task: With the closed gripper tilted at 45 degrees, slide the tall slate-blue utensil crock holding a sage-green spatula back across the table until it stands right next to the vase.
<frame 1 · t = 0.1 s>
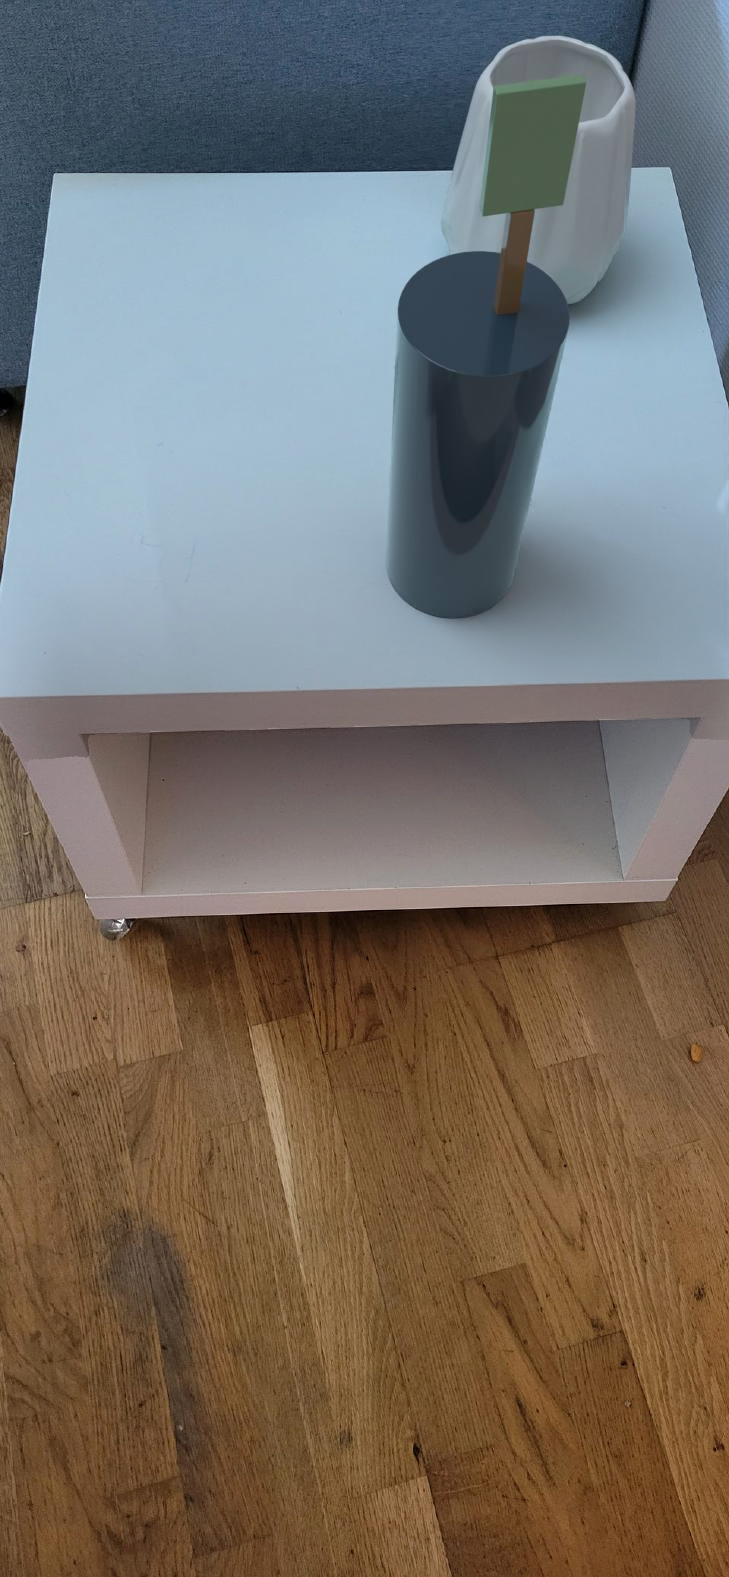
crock: (450, 563, 80), on the table
vase: (526, 267, 92), on the table
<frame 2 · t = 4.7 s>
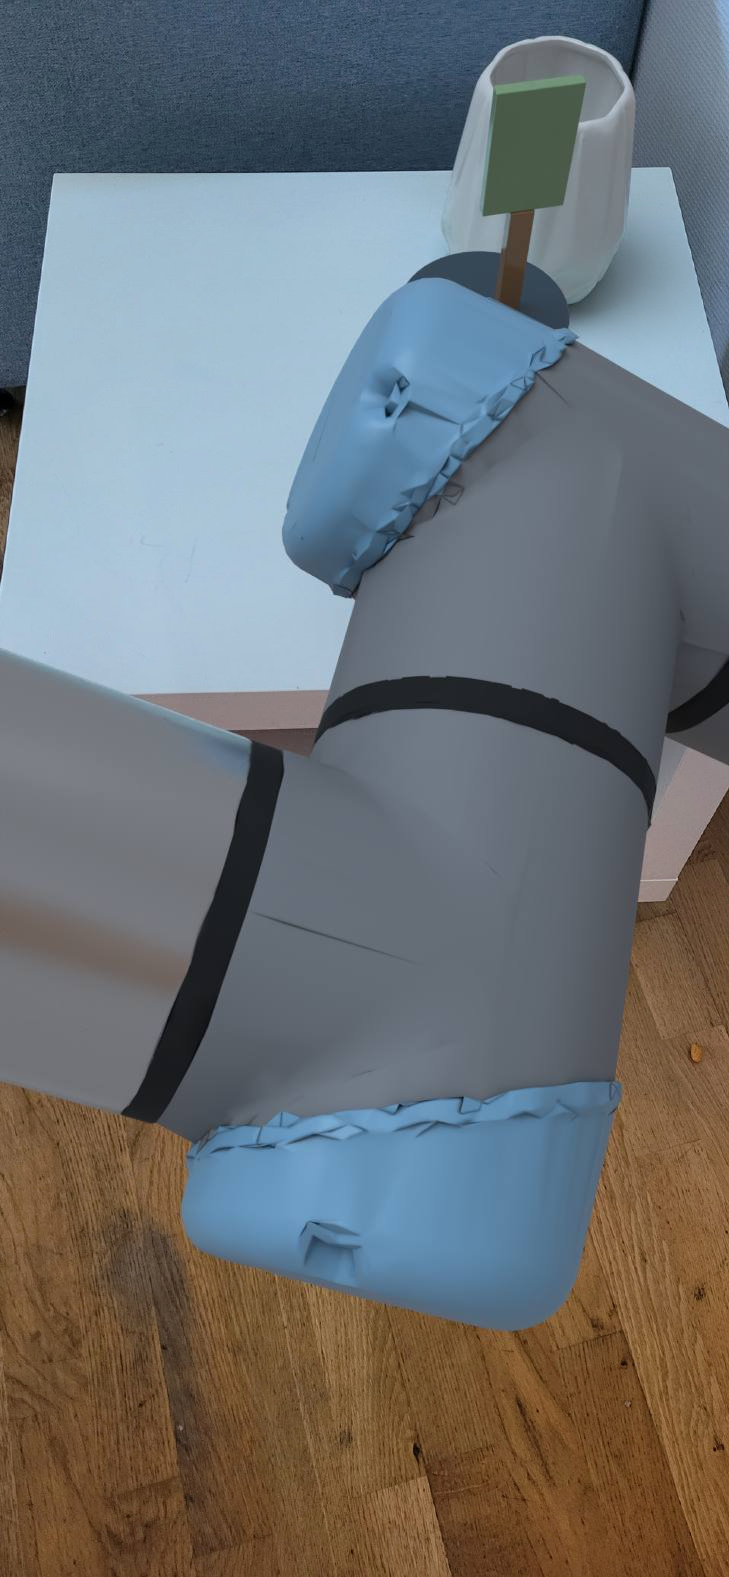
hand: (514, 526, 62), 15 cm above the table, tool tilted 45°, fingers closed
nothing on the table moved.
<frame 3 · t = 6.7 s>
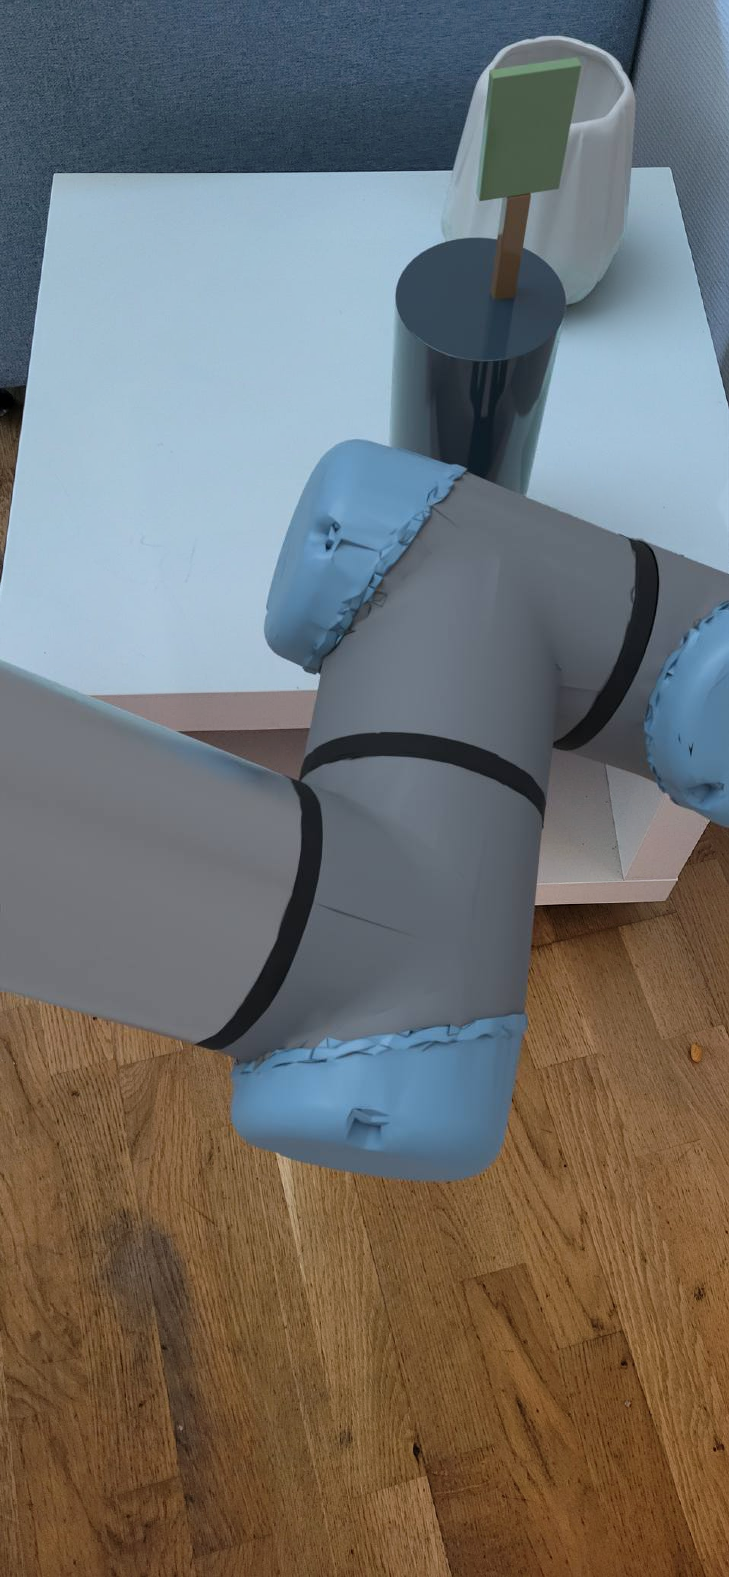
hand: (482, 555, 71), 7 cm above the table, tool tilted 45°, fingers closed
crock: (448, 552, 80), on the table, touching gripper
everything else where it was.
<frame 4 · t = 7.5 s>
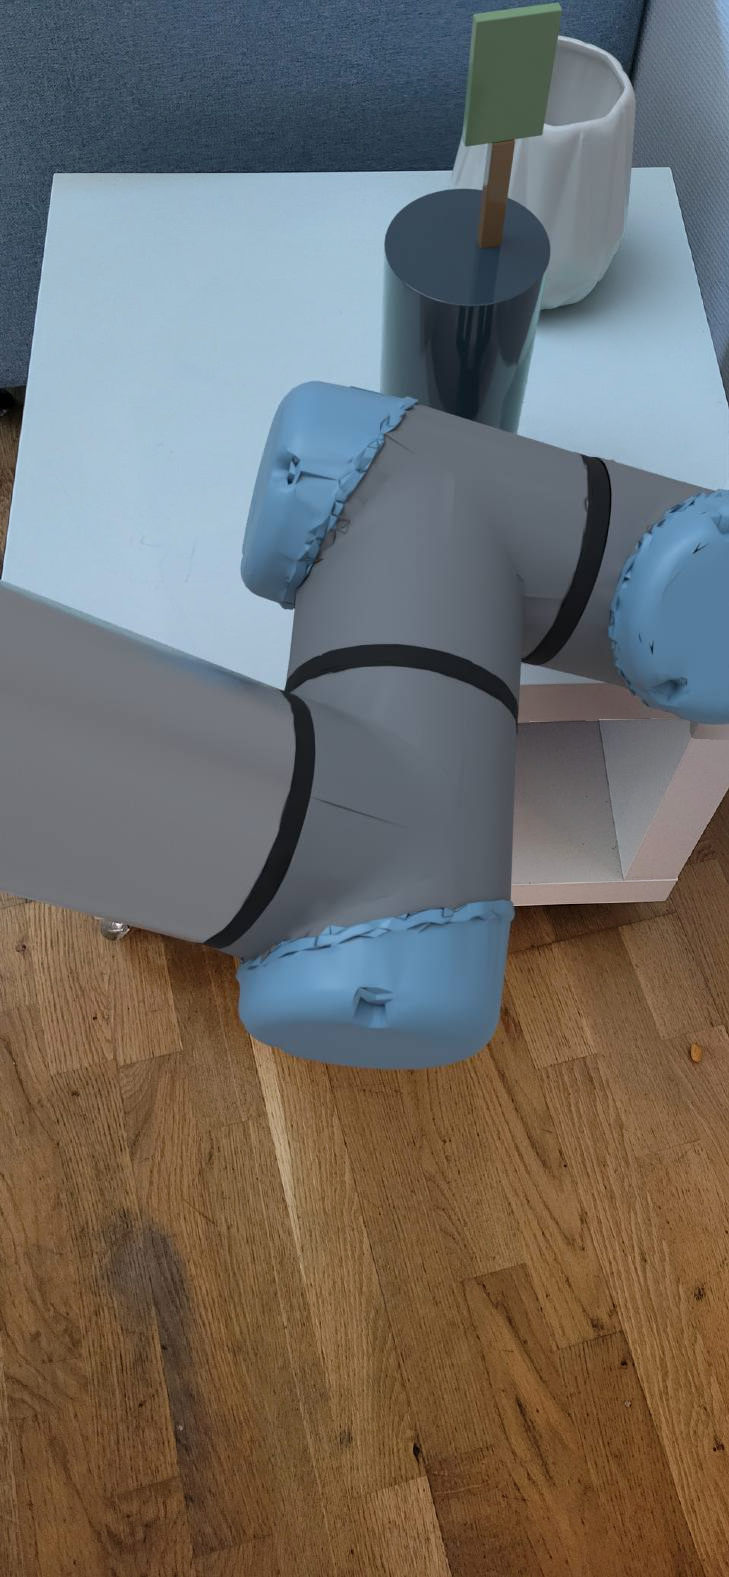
hand: (469, 504, 73), 7 cm above the table, tool tilted 45°, fingers closed
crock: (439, 507, 82), on the table, touching gripper
everything else where it was.
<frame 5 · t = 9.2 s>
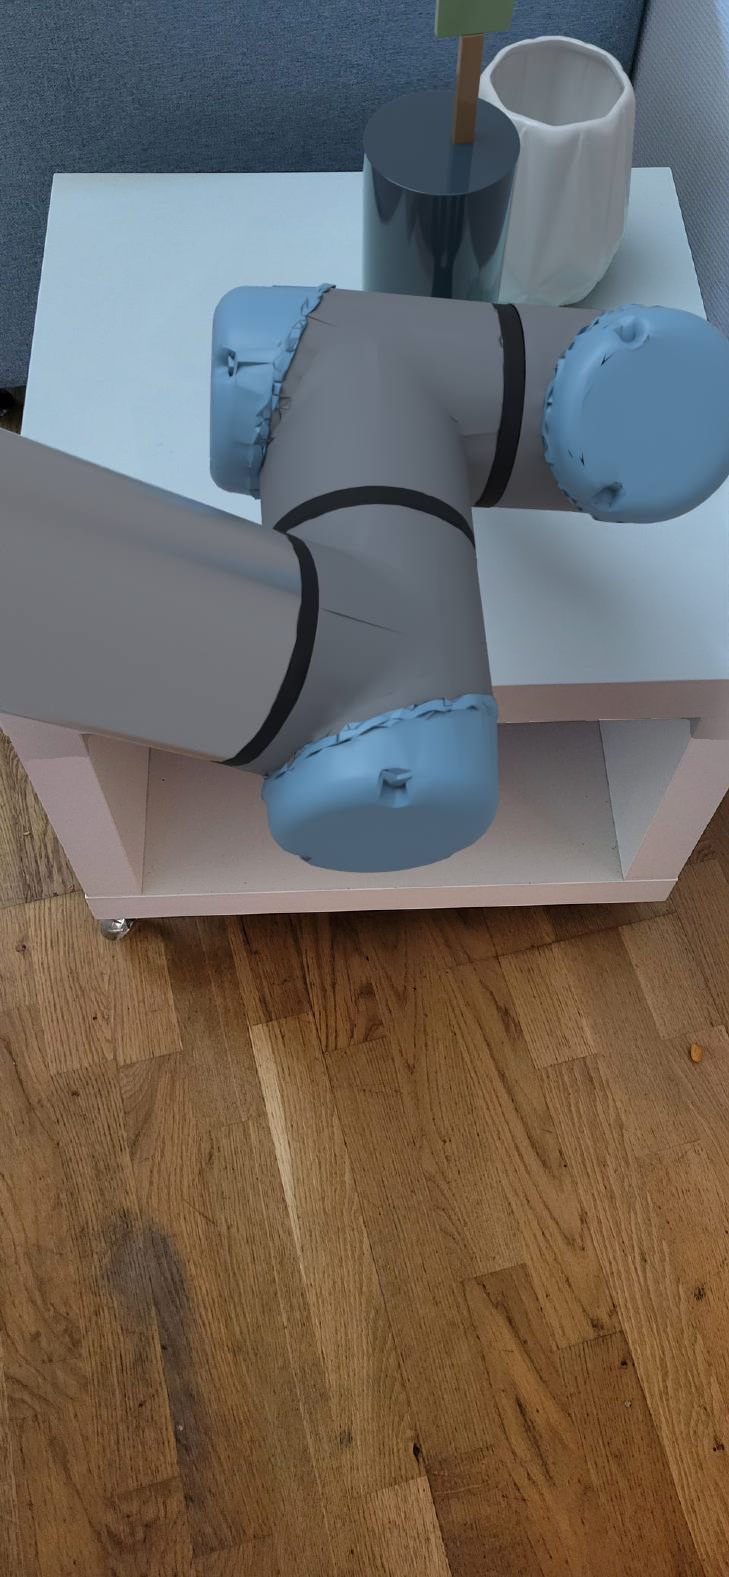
hand: (441, 402, 76), 8 cm above the table, tool tilted 45°, fingers closed
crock: (420, 417, 85), on the table, touching gripper
everything else where it was.
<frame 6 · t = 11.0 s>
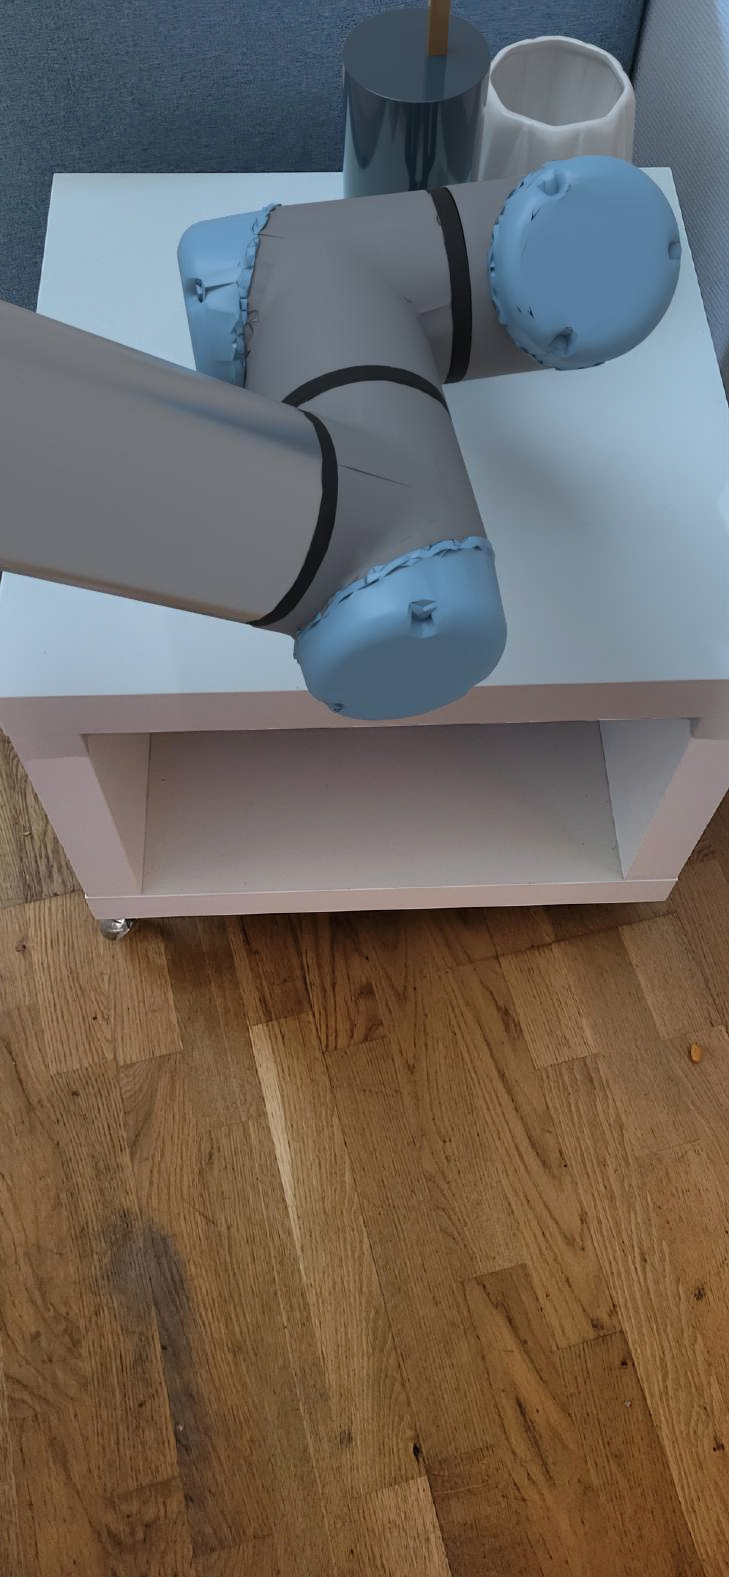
hand: (415, 314, 79), 8 cm above the table, tool tilted 45°, fingers closed
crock: (402, 339, 89), on the table, touching gripper
everything else where it was.
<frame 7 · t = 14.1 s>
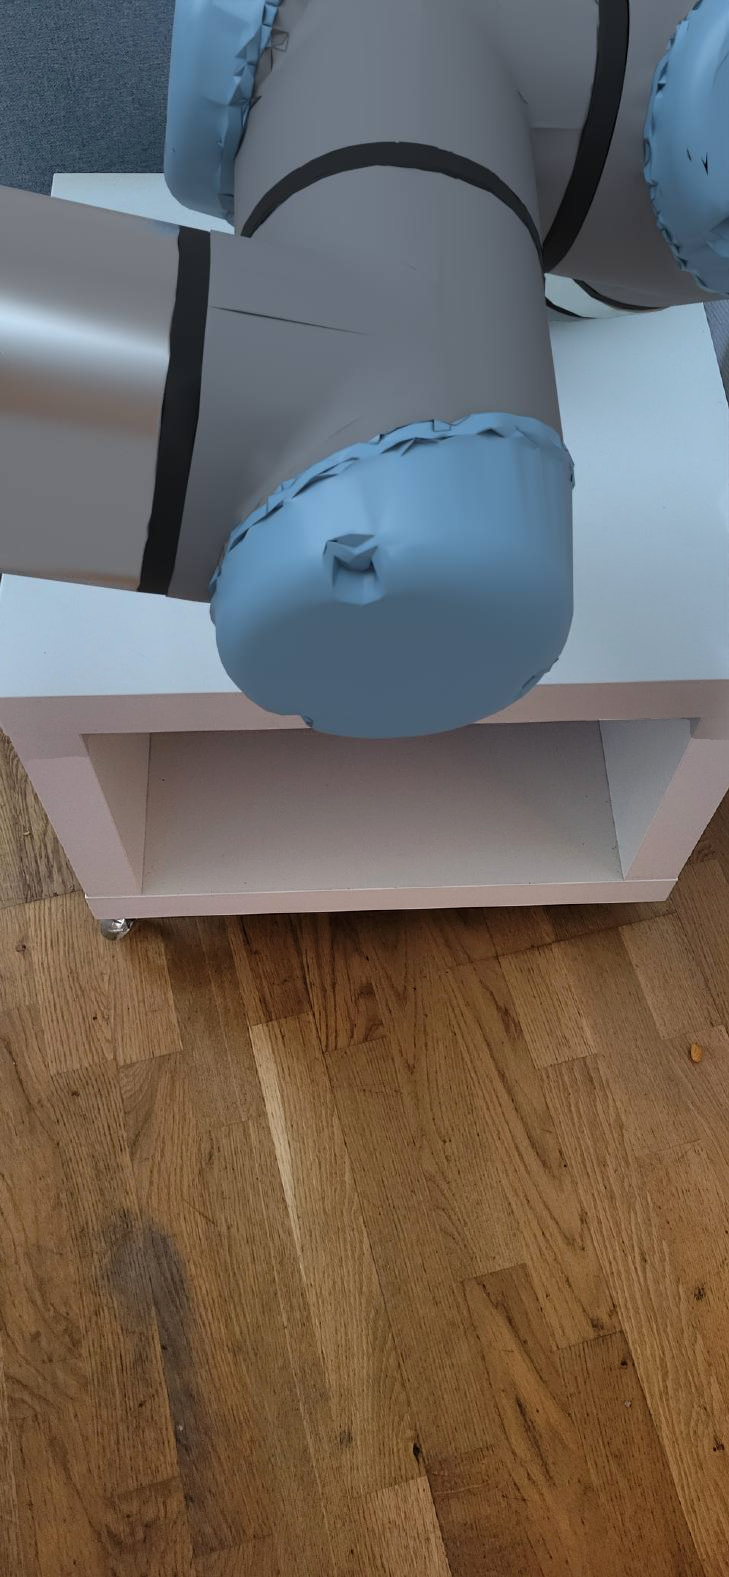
hand: (451, 267, 64), 20 cm above the table, tool tilted 45°, fingers closed
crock: (402, 339, 89), on the table
everything else where it was.
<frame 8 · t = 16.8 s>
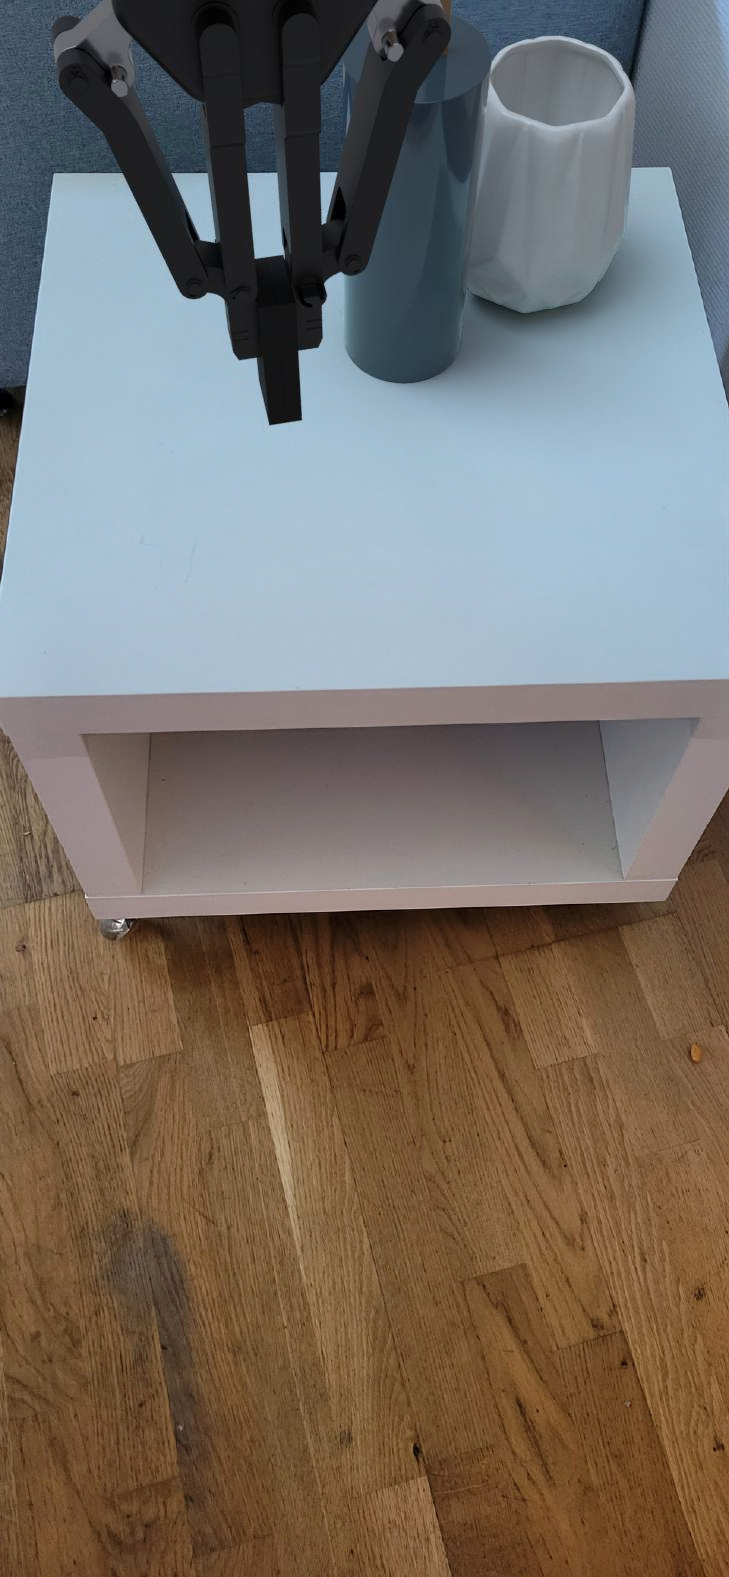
hand: (280, 400, 51), 26 cm above the table, tool pointing down, fingers closed
nothing on the table moved.
at the end: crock 12.9 cm from the vase (horizontally); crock moved 21.3 cm from its start; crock tilted 0° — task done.
